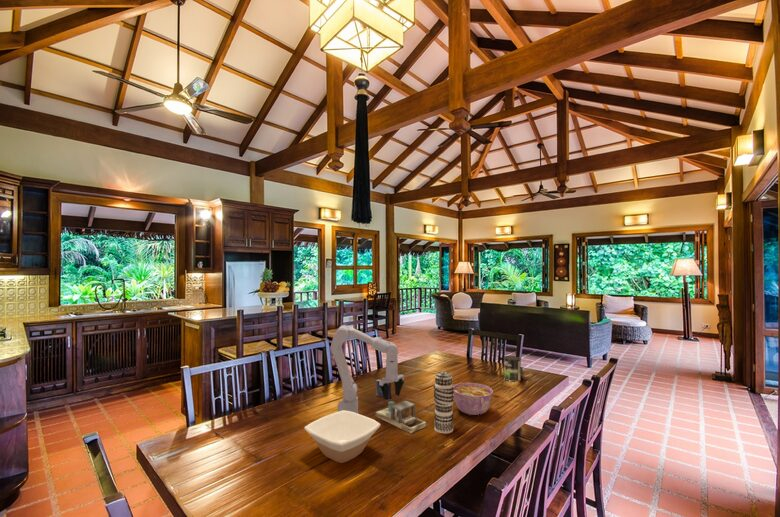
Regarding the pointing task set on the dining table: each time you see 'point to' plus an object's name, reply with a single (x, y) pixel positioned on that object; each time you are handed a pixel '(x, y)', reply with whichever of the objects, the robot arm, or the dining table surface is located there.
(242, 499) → the dining table surface
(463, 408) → the bowl of food
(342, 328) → the robot arm
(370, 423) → the bowl
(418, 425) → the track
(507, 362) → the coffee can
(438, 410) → the white patterned tall cylinder
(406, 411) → the walnut block
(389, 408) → the block
